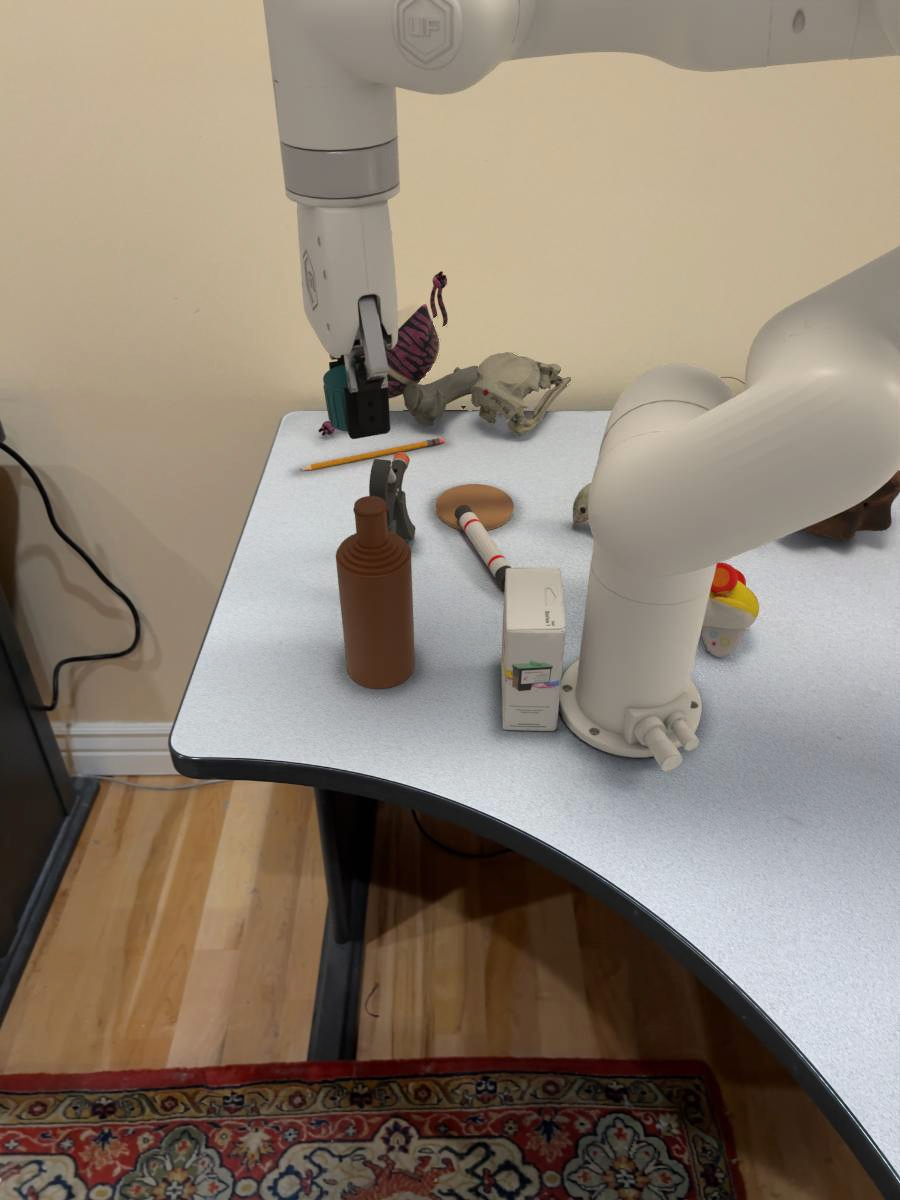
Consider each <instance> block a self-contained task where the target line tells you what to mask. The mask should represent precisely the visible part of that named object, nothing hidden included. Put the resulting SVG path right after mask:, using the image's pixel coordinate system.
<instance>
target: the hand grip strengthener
mask: <svg viewBox="0 0 900 1200" xmlns="http://www.w3.org/2000/svg"><path fill="white" fill-rule="evenodd" d="M410 461H411V459H410V457H409V455H408V454H407V453H404V452H397V453H394V455H393V458H392V460H389V459H380V458H374V459H373V461H372V466H371V468H370V474H369V482H368V483H369V484H368V493H369V494H368V496H377V497H380V498H382V499H383V500H384V501H385V502H386V504H387V510H386V512H387V531H389V532H392V533H394V534H397V535H398V536H400V537H401V538H403V539H404V540H405V541H412V540H414V539H415V536H416V530H417V529H416V525H415V524H413V522H412V520H411V518H410V515H409V512H408V508H407V498H406V492H405V491H404V490H403V481H404V476H405V473H406V470H407V469H408V467H409V464H410Z"/></svg>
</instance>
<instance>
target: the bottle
mask: <svg viewBox="0 0 900 1200" xmlns="http://www.w3.org/2000/svg"><path fill="white" fill-rule="evenodd" d="M386 510H387V504H386V502H385V501H384V500H383V499H382V498H380V497H377V496H369V495H366V496H363V497H360V498H358V499H357V500H356V501H355V502H354V504H353V513H354V521H355V530H356V531H355V533H353V534H351V535H349V536H348V537H347V538H345V539H344V540H343V541H341V543H340V544H339V546H338V548H337V550H336V552H335V563H336V572H337V573H336V574H337V585H338V591H339V592H338V594H339V603H340V614H341V622H342V635H343V644H344V653H345V663H346V672H347V673H348V675H349V677H350V679H352V680H353V681H354V683H357V684H358V685H360V686H361V687H365V688H368V689H376V690H383V689H391V688H394V687H396V686H399V685H401V684H402V683H404V682H405V681H407V680H408V679H409V678H410V677H411V676H412V675H413V672H414V670H415V669H416V668H415V667H416V652H415V651H416V649H415V630H414V629H415V625H414V599H413V598H414V597H413V596H414V595H413V571H412V570H413V569H412V549H411V547H410V545H409V544H408V542H406V540H404V539H403V538H401V537H400V536H398V535H397V534H394V533H392V532H389V531H387V512H386Z"/></svg>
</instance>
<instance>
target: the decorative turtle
mask: <svg viewBox="0 0 900 1200" xmlns="http://www.w3.org/2000/svg"><path fill="white" fill-rule="evenodd" d="M899 494H900V469H899V470H898V471H897V472H896V473H895V474H894V476H893V477H892V478H891V479H890V480H889V481H888V482H886V483H885V484H884V485H883V486H882V487H881V488H880V489H878V490H877V491H876V492H874V493H873V494H872V495H871V496H869V497H868V498H866V499H865V500H863V501H862V502H860V503H858V504H857V505H855V506H853V507H851V508H849V509H847V510H845V511H843V512H841V513H838V514H836V515H834V516H832V517H829V518H827V519H825V520H823V521H820V522H818V523H815V524H813V525H810V526H808V527H806V528H803V529H802V530H804V531H806V532H808V533H810V534H813V535H816V536H822V537H827V538H832V539H839V540H843V541H850V540H852V539H853V538H854V537H855V535H856V533H857V532H862V531H863V532H883V531H886V530H888V529H889V528H890V527H891V526H892V523H893V521H892V505H893V503H894V502H895V500H896V498H898V496H899Z"/></svg>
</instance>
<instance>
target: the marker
mask: <svg viewBox="0 0 900 1200" xmlns="http://www.w3.org/2000/svg"><path fill="white" fill-rule="evenodd" d="M455 517H456V518H457V520H458V521H459V523H460V525H461V527H462V528H463V530H462V531H463V532H464V533H465V534H466V536H467V537H468V539H469V540H470V542H471V543H472V545H473V547H474V548H475V550H476V551H477V553H478V554H479V556H480V557H481V559H482V560H483V562H484V563H485V565H486V566H487V568H488V570H489V571H490V572H491V574H492V575H493V577H494V579H495V580H496V581H497V583H498V584H499V586H500V587H501V588H502V589H504V590H505V574H506V569H507V568H512V566H511V564H510V563H509V562H508V560H507V559H506V557H505V556H504V555H503V553H502V552H501V550H500V549H499V547H498V546H497V544H496V543H495V541H494V540H493V538H492V537H491V536H490V534H489V533H488V530H487V531H486V530H485V528H484V527H483V525H482V524H481V522H480V521H479V519H478V518H477V517H476V515H475V514H474V513H473V511H472V510H471V508H470V507H469V506H468V505H461V506H459V507H458V508H457V509H456V510H455Z"/></svg>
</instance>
